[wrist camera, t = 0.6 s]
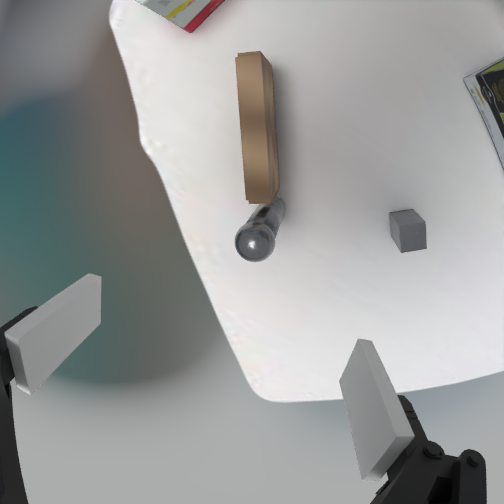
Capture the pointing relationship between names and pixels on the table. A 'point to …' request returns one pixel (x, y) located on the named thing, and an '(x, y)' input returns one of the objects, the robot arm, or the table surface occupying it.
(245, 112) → the gate
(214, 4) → the ink box
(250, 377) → the table surface
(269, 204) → the hinge post
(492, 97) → the tea box
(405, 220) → the block
